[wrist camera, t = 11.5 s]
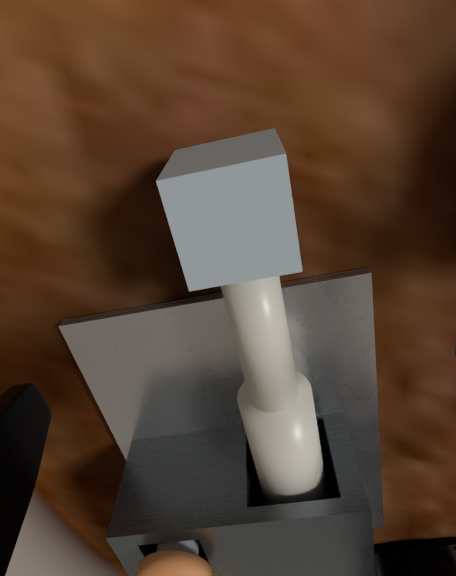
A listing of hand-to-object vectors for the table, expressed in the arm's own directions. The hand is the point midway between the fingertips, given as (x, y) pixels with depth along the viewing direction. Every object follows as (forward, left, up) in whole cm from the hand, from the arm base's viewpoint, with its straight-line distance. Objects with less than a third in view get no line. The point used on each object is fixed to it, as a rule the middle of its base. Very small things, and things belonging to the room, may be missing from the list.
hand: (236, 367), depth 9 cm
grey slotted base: (-15, +3, -11) cm, 19 cm away
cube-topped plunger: (-7, 0, -10) cm, 12 cm away
